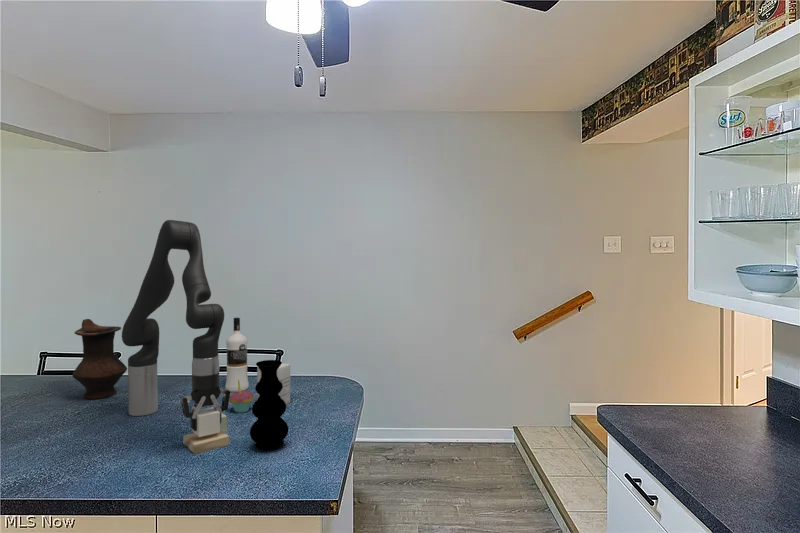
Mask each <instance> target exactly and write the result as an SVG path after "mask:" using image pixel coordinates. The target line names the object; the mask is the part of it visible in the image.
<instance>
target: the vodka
mask: <svg viewBox="0 0 800 533" xmlns="http://www.w3.org/2000/svg"><path fill="white" fill-rule="evenodd" d="M225 344H226V380H225V386H224V387H225V388H224V389H228V390H229V391H230V393H235V392H237V391H239V389H238V379H239V381H240V390H245V391H247V390H248V388H250V384H249V383H250V382H249V377H248V338H247V336H245V335H243V334H242V333H241V317H233V334H231V335H230V336H228V337H227V338H226V342H225Z"/></svg>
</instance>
